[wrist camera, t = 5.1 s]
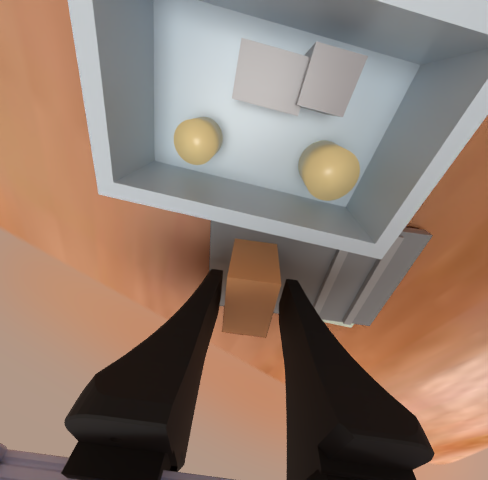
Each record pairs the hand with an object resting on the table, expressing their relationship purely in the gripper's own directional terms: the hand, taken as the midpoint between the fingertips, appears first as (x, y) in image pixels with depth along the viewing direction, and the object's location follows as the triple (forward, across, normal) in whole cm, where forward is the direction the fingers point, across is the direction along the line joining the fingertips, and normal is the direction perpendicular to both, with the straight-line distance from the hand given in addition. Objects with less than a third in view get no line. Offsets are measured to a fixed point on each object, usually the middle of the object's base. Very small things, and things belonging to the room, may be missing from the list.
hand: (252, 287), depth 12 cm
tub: (+2, 0, -8) cm, 8 cm away
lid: (+2, -3, 0) cm, 4 cm away
